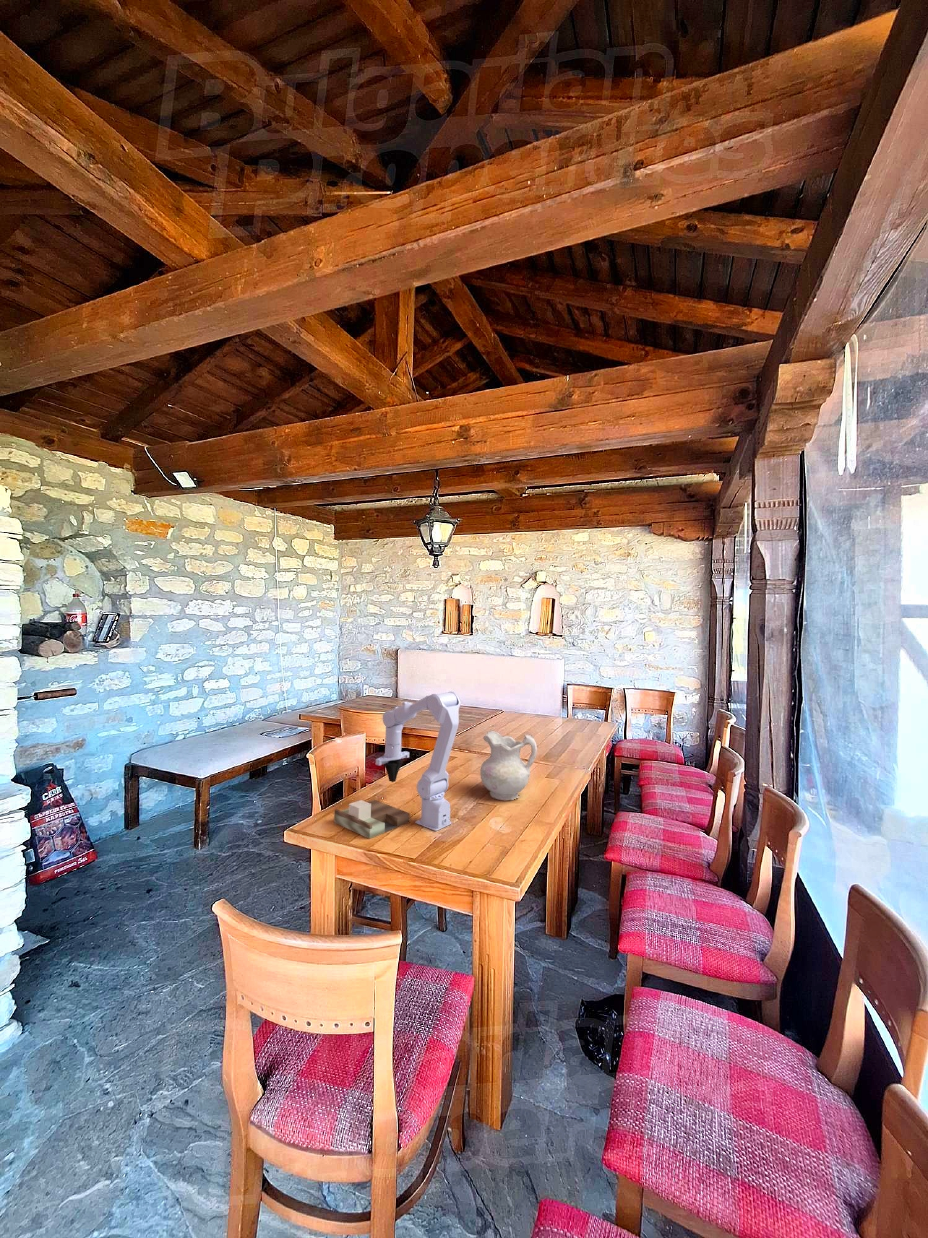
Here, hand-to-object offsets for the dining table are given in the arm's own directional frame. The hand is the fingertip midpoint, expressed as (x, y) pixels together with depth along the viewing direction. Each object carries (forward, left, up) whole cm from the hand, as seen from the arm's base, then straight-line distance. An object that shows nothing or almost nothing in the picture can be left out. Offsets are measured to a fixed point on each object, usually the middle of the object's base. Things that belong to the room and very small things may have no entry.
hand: (392, 781), depth 175 cm
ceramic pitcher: (-24, -39, -10) cm, 47 cm away
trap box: (-5, +13, -9) cm, 17 cm away
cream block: (-5, +19, -6) cm, 20 cm away
